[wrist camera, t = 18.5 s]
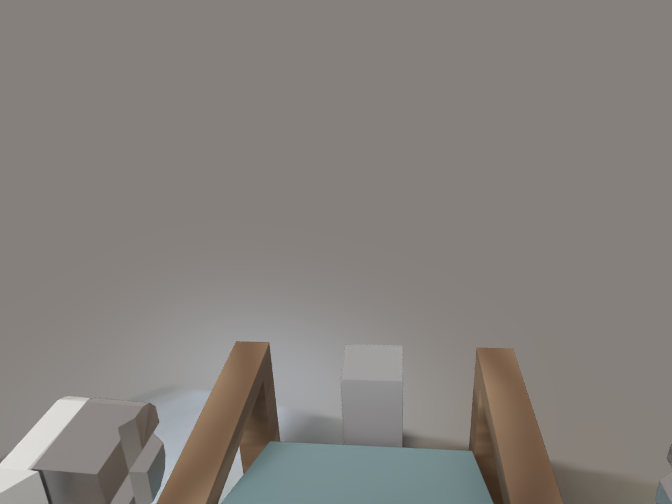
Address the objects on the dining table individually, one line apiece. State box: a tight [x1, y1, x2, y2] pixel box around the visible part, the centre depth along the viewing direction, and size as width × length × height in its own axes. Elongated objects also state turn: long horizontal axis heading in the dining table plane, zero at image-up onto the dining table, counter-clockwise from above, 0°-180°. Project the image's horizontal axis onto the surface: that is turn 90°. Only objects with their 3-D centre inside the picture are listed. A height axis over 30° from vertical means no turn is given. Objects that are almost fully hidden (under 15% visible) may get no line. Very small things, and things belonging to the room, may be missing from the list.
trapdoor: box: [221, 441, 493, 504], centre depth 32 cm, size 14×12×1 cm
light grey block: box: [341, 344, 403, 448], centre depth 48 cm, size 5×5×9 cm
